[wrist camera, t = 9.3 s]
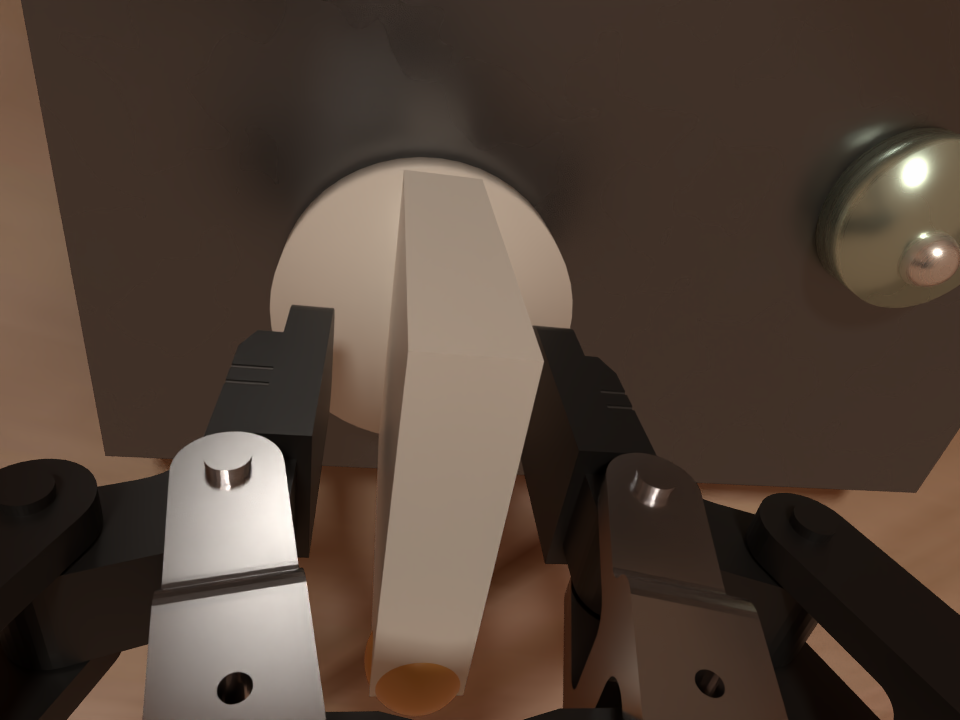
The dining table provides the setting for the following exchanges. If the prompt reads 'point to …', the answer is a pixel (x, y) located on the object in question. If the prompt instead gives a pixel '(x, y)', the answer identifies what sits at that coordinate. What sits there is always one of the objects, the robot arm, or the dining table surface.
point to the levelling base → (542, 201)
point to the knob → (430, 388)
